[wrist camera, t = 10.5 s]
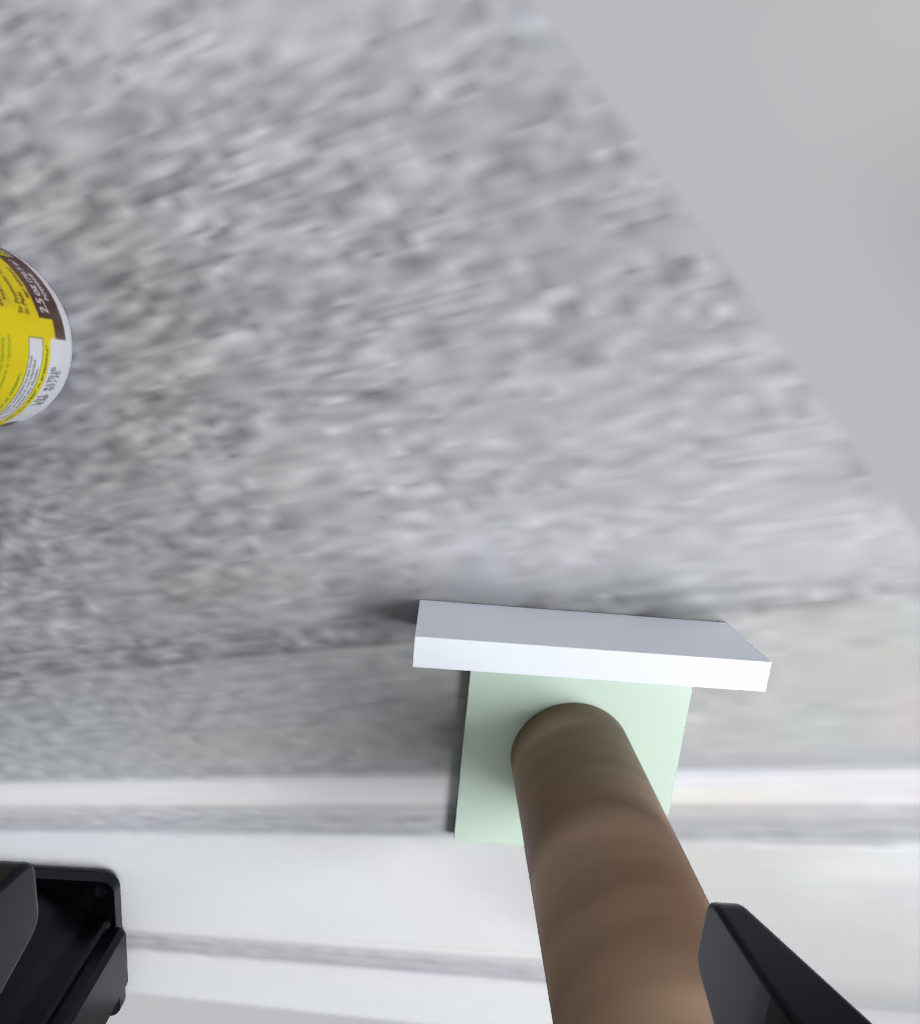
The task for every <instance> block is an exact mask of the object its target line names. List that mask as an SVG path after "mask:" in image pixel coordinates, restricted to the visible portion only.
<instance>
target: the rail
mask: <svg viewBox="0 0 920 1024" xmlns="http://www.w3.org/2000/svg"><path fill="white" fill-rule="evenodd" d="M771 663H772V662H771V661H770V660H769V659H767V658H766V657H765V656H764V655H763V654H762V653H761V652H759V651H758V650H757V649H756V648H755V647H754V646H753V645H752V644H750V643H749V642H748V641H747V640H746V639H745V638H744V637H743V636H741V635H740V634H739V633H738V632H737V631H736V630H735V629H733V628H732V627H731V626H730V625H729V624H728V623H724V622H710V621H697V620H683V619H670V618H657V617H643V616H630V615H617V614H603V613H590V612H576V611H563V610H550V609H536V608H523V607H509V606H496V605H483V604H469V603H456V602H443V601H429V600H420V603H419V610H418V618H417V625H416V633H415V644H414V657H413V667H423V668H437V669H451V670H465V671H479V672H494V673H508V674H522V675H536V676H550V677H565V678H579V679H593V680H607V681H621V682H635V683H650V684H664V685H678V686H692V687H706V688H720V689H735V690H749V691H763V692H765V690H766V686H767V681H768V677H769V672H770V668H771Z"/></svg>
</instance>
